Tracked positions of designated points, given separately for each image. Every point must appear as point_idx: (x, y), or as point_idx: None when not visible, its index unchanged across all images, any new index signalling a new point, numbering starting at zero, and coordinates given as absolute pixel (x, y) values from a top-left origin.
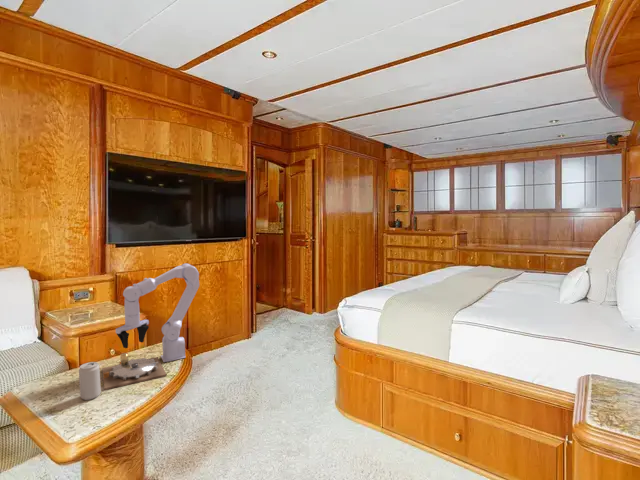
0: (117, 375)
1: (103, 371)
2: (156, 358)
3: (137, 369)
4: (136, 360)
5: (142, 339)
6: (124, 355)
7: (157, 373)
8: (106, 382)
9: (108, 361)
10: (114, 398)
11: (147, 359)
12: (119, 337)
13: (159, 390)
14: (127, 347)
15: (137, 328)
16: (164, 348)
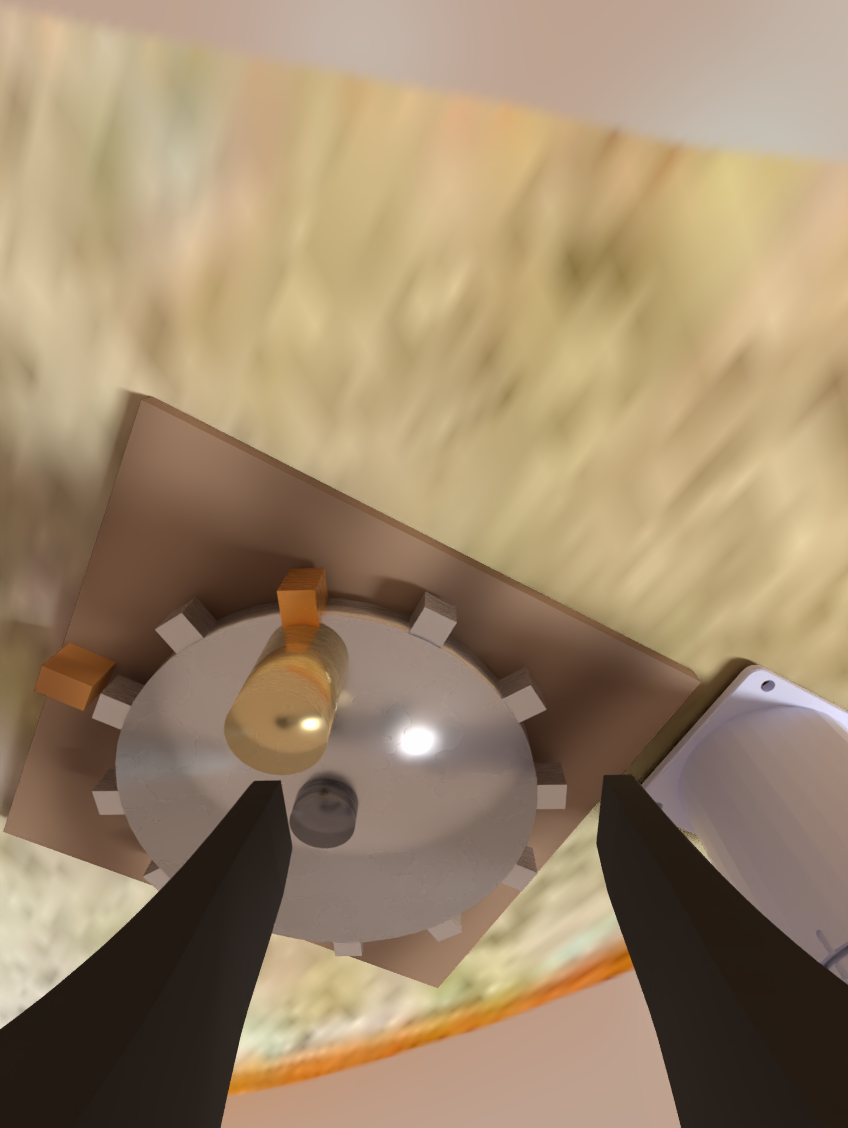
0: (128, 809)
1: (115, 515)
2: (659, 704)
3: (301, 872)
4: (435, 697)
5: (617, 906)
6: (256, 767)
7: (410, 938)
8: (49, 762)
9: (339, 166)
10: (32, 946)
11: (518, 770)
12: (59, 1002)
13: (276, 1055)
14: (283, 859)
15: (779, 1089)
16: (742, 889)
